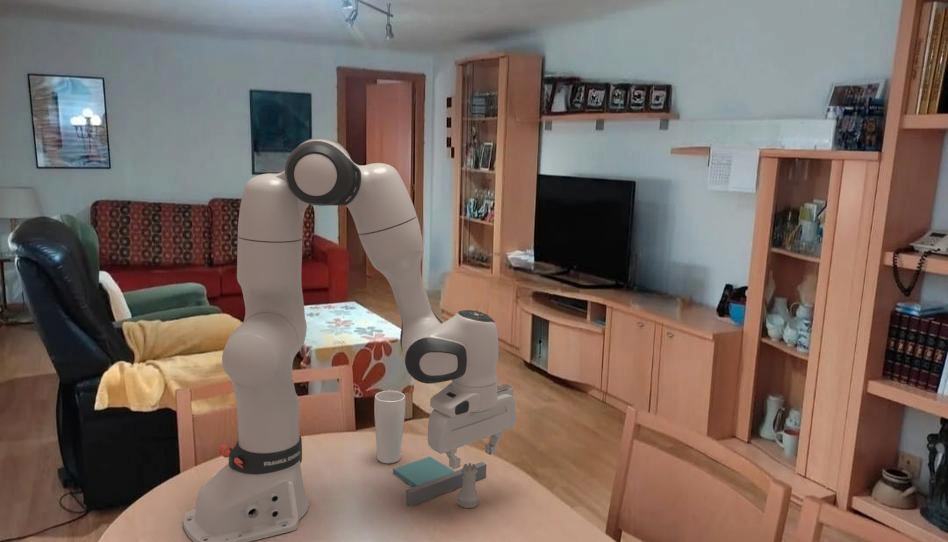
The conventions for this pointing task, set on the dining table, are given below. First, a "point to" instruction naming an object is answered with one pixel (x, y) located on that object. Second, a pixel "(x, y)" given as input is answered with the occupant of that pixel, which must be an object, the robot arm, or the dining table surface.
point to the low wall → (440, 485)
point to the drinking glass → (389, 425)
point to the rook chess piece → (468, 487)
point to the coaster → (421, 471)
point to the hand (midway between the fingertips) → (473, 459)
